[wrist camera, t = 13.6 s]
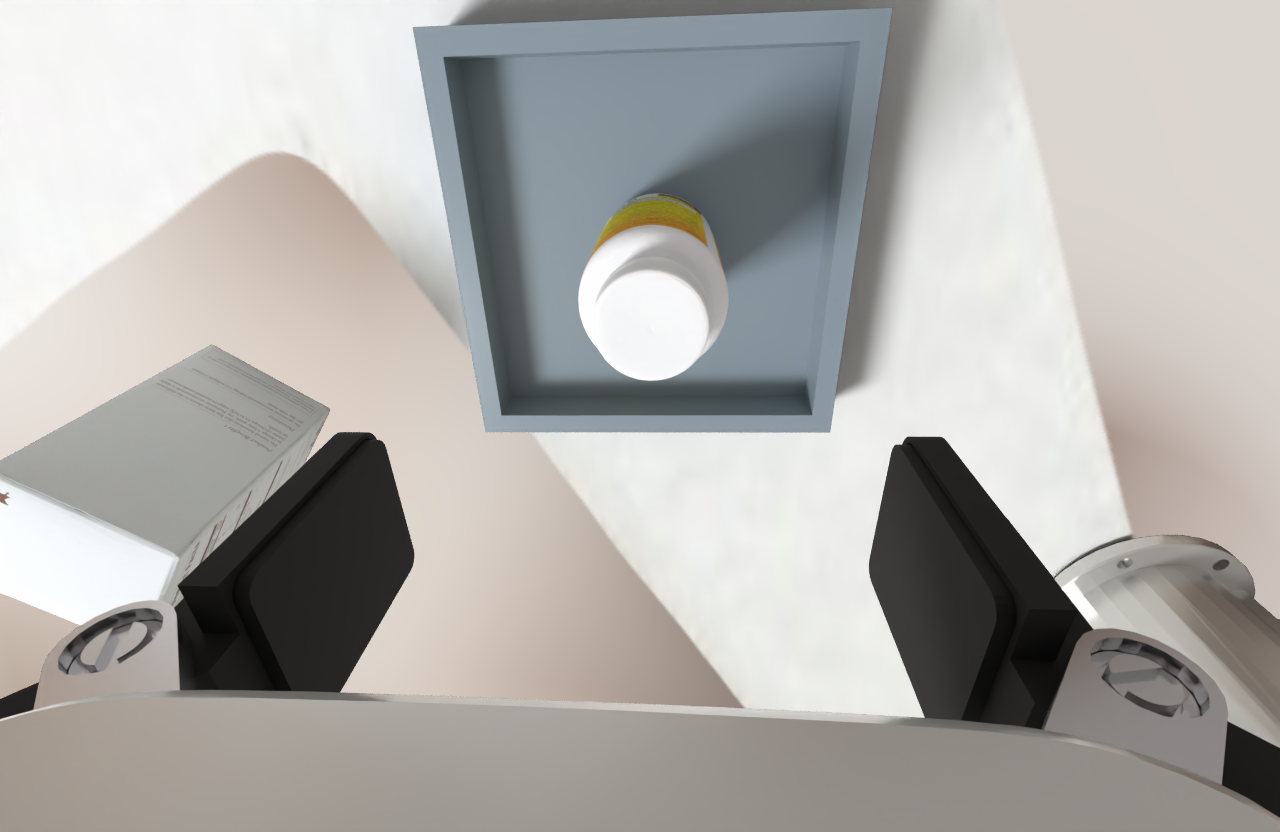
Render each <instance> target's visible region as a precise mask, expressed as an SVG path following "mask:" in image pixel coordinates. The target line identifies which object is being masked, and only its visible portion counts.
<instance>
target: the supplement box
mask: <svg viewBox="0 0 1280 832" xmlns="http://www.w3.org/2000/svg"><path fill="white" fill-rule="evenodd" d="M329 412H330V409H329V408H328V407H326V406H324V405H322V404H321V403H319V402H317V401H315V400H313V399H311V398H309V397H307V396H305V395H304V394H302V393H300V392H298V391H296V390H294V389H293V388H291V387H289V386H287V385H285V384H284V383H282V382H280V381H278V380H276V379H274V378H273V377H271V376H269V375H267V374H265V373H263V372H261V371H259V370H258V369H256V368H254V367H252V366H250V365H249V364H247V363H245V362H243V361H242V360H240V359H238V358H236V357H234V356H232V355H230V354H229V353H227V352H225V351H223V350H221V349H220V348H218V347H216V346H214V345H210V346H208V347H206V348H205V349H203V350H201V351H199V352H197V353H195V354H193V355H192V356H190V357H188V358H186V359H184V360H183V361H181V362H179V363H177V364H175V365H174V366H172V367H170V368H168V369H166V370H164V371H162V372H161V373H159V374H157V375H155V376H153V377H152V378H150V379H148V380H146V381H144V382H142V383H141V384H139V385H137V386H135V387H133V388H132V389H130V390H128V391H126V392H125V393H123V394H121V395H119V396H117V397H115V398H113V399H111V400H110V401H108V402H106V403H104V404H102V405H101V406H99V407H97V408H95V409H93V410H92V411H90V412H88V413H86V414H84V415H83V416H81V417H79V418H77V419H75V420H73V421H72V422H70V423H68V424H66V425H64V426H62V427H61V428H59V429H57V430H55V431H53V432H52V433H50V434H48V435H46V436H44V437H42V438H41V439H39V440H37V441H35V442H33V443H31V444H30V445H28V446H26V447H24V448H23V449H21V450H19V451H17V452H15V453H13V454H11V455H9V456H8V457H6V458H4V459H2V460H0V593H2V594H5V595H7V596H10V597H12V598H15V599H17V600H20V601H22V602H24V603H27V604H29V605H32V606H34V607H37V608H39V609H42V610H44V611H47V612H49V613H52V614H54V615H57V616H59V617H62V618H64V619H66V620H69V621H71V622H74V623H76V624H79V625H82V624H84V623H86V622H87V621H89V620H91V619H92V618H94V617H96V616H98V615H100V614H103V613H105V612H107V611H109V610H112V609H114V608H117V607H120V606H123V605H127V604H130V603H133V602H140V601H147V600H156V601H165V602H166V603H168V604H170V605H172V606H173V607H175V606H176V605H177V604H178V603H179V602H180V601H181V600H182V599H183V598H184V597H183V595H182V594H181V592H180V590H179V588H178V586H177V585H178V584H179V583H180V582H182V581H183V580H184V579H185V578H186V577H187V576H188V575H189V574H190V573H191V572H192V571H193V570H194V569H195V568H196V567H197V566H198V565H199V564H200V563H201V562H202V561H203V560H205V559H206V558H207V557H208V556H209V555H210V554H211V553H212V552H213V551H214V550H215V549H216V548H217V547H218V546H219V545H220V544H221V543H222V542H223V541H224V540H225V539H226V538H228V537H229V536H230V535H231V534H232V533H233V532H234V531H235V530H236V529H237V528H238V527H239V526H240V525H241V524H242V523H243V522H244V521H245V520H246V519H247V518H248V517H250V516H251V515H252V514H253V513H254V512H255V511H256V510H257V509H258V508H259V507H260V506H261V505H262V504H263V503H264V502H265V501H266V500H267V499H268V498H269V497H270V496H271V495H273V494H274V493H275V492H276V491H277V490H278V489H279V488H280V487H281V486H282V485H283V484H284V483H285V482H286V481H287V480H288V479H289V478H290V477H291V476H292V475H293V474H294V473H296V472H297V471H298V470H299V469H300V468H301V467H302V466H303V465H304V463H305V461H306V459H307V457H308V455H309V453H310V451H311V449H312V447H313V445H314V443H315V441H316V439H317V437H318V435H319V433H320V431H321V428H322V426H323V424H324V422H325V420H326V418H327V416H328V414H329Z"/></svg>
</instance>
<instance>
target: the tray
mask: <svg viewBox="0 0 1280 832" xmlns="http://www.w3.org/2000/svg"><path fill="white" fill-rule="evenodd" d="M892 9H893V8H871V9H847V10H822V11H797V12H773V13H748V14H724V15H699V16H674V17H650V18H625V19H601V20H576V21H551V22H527V23H502V24H478V25H453V26H428V27H413V32H414V37H415V43H416V48H417V54H418V59H419V65H420V70H421V76H422V82H423V87H424V93H425V98H426V104H427V109H428V115H429V120H430V126H431V131H432V137H433V143H434V148H435V154H436V159H437V165H438V170H439V176H440V181H441V187H442V193H443V198H444V204H445V209H446V215H447V220H448V226H449V231H450V237H451V243H452V248H453V254H454V259H455V265H456V270H457V276H458V281H459V287H460V293H461V298H462V304H463V309H464V315H465V320H466V326H467V331H468V337H469V342H470V348H471V354H472V359H473V365H474V370H475V376H476V381H477V387H478V392H479V398H480V404H481V409H482V414H483V420H484V426H485V431H486V432H830V429H831V422H832V416H833V409H834V402H835V395H836V388H837V382H838V375H839V368H840V361H841V355H842V348H843V341H844V334H845V327H846V321H847V314H848V307H849V300H850V294H851V287H852V280H853V273H854V266H855V260H856V253H857V246H858V239H859V233H860V226H861V219H862V212H863V205H864V199H865V192H866V185H867V178H868V172H869V165H870V158H871V151H872V144H873V138H874V131H875V124H876V117H877V111H878V104H879V97H880V90H881V83H882V77H883V70H884V63H885V56H886V50H887V43H888V36H889V29H890V22H891V16H892ZM654 193H661V194H669V195H672V196H676V197H678V198H681V199H683V200H685V201H687V202H688V203H690V204H691V205H693V206H694V207H695V208H696V209H697V210H698V211H699V212H700V213H701V214H702V215H703V216H704V218H705V219H706V221H707V223H708V224H709V226H710V228H711V231H712V233H713V236H714V239H715V243H716V246H717V249H718V252H719V256H720V259H721V263H722V267H723V270H724V274H725V277H726V281H727V287H728V311H727V316H726V320H725V323H724V326H723V328H722V330H721V332H720V334H719V336H718V338H717V339H716V341H715V342H714V343H713V345H712V346H711V347H710V349H709V350H708V351H706V352H705V353H704V354H703V355H702V356H701V357H699V358H698V359H697V360H696V362H695V363H694V364H693V365H692V366H690V367H689V368H688V369H686V370H685V371H683V372H682V373H680V374H678V375H676V376H673V377H671V378H667V379H663V380H653V381H647V380H640V379H635V378H632V377H629V376H627V375H625V374H623V373H621V372H619V371H618V370H616V369H615V368H613V367H612V366H611V365H610V364H609V363H608V362H607V361H606V360H605V359H604V357H603V356H602V354H601V353H600V351H599V349H598V348H597V347H596V346H595V345H594V344H593V342H592V341H591V339H590V338H589V336H588V334H587V333H586V330H585V328H584V326H583V323H582V320H581V317H580V312H579V304H578V294H579V286H580V282H581V278H582V275H583V272H584V270H585V267H586V265H587V263H588V261H589V259H590V257H591V254H592V252H593V250H594V248H595V246H596V244H597V241H598V239H599V237H600V235H601V233H602V231H603V229H604V227H605V225H606V223H607V221H608V220H609V219H610V217H611V216H612V215H613V213H614V212H615V211H616V210H617V209H618V208H619V207H621V206H622V205H623V204H625V203H626V202H628V201H630V200H632V199H634V198H636V197H639V196H642V195H646V194H654Z"/></svg>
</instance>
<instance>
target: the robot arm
mask: <svg viewBox="0 0 1280 832" xmlns="http://www.w3.org/2000/svg"><path fill="white" fill-rule="evenodd" d="M413 562H414V549H413V545H412V542H411V538H410V534H409V531H408V527H407V524H406V520H405V516H404V512H403V509H402V505H401V501H400V497H399V494H398V490H397V487H396V483H395V479H394V475H393V472H392V468H391V464H390V461H389V457H388V453H387V450H386V447H385V444H384V443H383V442H382V441H380V440H377V439H376V437H375V436H374V435H373V434H371V433H363V432H362V433H360V432H353V433H352V432H341V433H337V434H336V435H334V436H333V437H332V438H331V439H330V440H329V441H328V442H327V443H326V444H325V445H324V446H323V447H322V448H321V449H320V450H319V451H318V452H317V453H315V454H314V455H313V456H312V457H311V458H310V459H309V460H308V461H307V462H306V463H305V464H304V465H303V466H302V467H301V468H300V469H299V470H298V471H297V472H296V473H294V474H293V475H292V476H291V477H290V478H289V479H288V480H287V481H286V482H285V483H284V484H283V485H282V486H281V487H280V488H279V489H278V490H277V491H276V492H275V493H274V494H273V495H271V496H270V497H269V498H268V499H267V500H266V501H265V502H264V503H263V504H262V505H261V506H260V507H259V508H258V509H257V510H256V511H255V512H254V513H253V514H252V515H251V516H250V517H248V518H247V519H246V520H245V521H244V522H243V523H242V524H241V525H240V526H239V527H238V528H237V529H236V530H235V531H234V532H233V533H232V534H231V535H230V536H229V537H228V538H226V539H225V540H224V541H223V542H222V543H221V544H220V545H219V546H218V547H217V548H216V549H215V550H214V551H213V552H212V553H211V554H210V555H209V556H208V557H207V558H206V559H205V560H203V561H202V562H201V563H200V564H199V565H198V566H197V567H196V568H195V569H194V570H193V571H192V572H191V573H190V574H189V575H188V576H187V577H186V578H185V579H184V580H183V581H182V582H180V583H179V584H178V585H177V586H178V588H179V590H180V592H181V594H182V595H183V597H184V598H183V599H182V600H181V601H180V602H179V603H178V604H177V605H176V606H175V607H173V606H172V605H170V604H168V603H166V602H165V601H156V600H147V601H140V602H133V603H130V604H127V605H123V606H120V607H117V608H114V609H112V610H109V611H107V612H105V613H103V614H100V615H98V616H96V617H94V618H92V619H91V620H89V621H87V622H86V623H84V624H82V625H81V626H79V627H77V628H76V629H74V630H73V631H72V632H71V633H70V634H68V635H67V636H66V637H64V638H63V639H62V640H61V641H60V642H59V643H58V644H57V645H56V646H55V647H54V648H53V650H52V651H51V652H50V653H49V654H48V656H47V658H46V660H45V662H44V664H43V667H42V671H41V676H40V680H39V682H38V683H36V684H34V685H31V686H29V687H27V688H24V689H22V690H20V691H18V692H15V693H13V694H11V695H9V696H6V697H4V698H2V699H0V832H1280V619H1276V618H1275V617H1274V616H1273V615H1272V614H1271V613H1270V612H1268V611H1267V610H1266V609H1265V608H1264V607H1263V606H1261V605H1260V604H1259V603H1258V602H1257V601H1256V600H1255V599H1254V595H1255V587H1254V582H1253V578H1252V576H1251V574H1250V572H1249V571H1248V569H1247V567H1246V566H1245V565H1243V564H1242V563H1241V562H1240V561H1239V560H1238V559H1237V558H1236V557H1234V556H1233V555H1232V554H1231V553H1230V552H1228V551H1227V550H1225V549H1224V548H1222V547H1221V546H1219V545H1218V544H1215V543H1213V542H1210V541H1207V540H1204V539H1202V538H1196V537H1190V536H1184V535H1157V536H1149V537H1140V538H1135V539H1131V540H1127V541H1123V542H1119V543H1116V544H1113V545H1111V546H1108V547H1105V548H1103V549H1100V550H1097V551H1095V552H1093V553H1091V554H1089V555H1088V556H1086V557H1084V558H1082V559H1080V560H1078V561H1077V562H1075V563H1074V564H1072V565H1071V566H1069V567H1068V568H1066V569H1065V570H1064V571H1062V572H1061V573H1060V574H1059V575H1058V576H1057V577H1056V578H1055V579H1054V578H1053V577H1052V575H1051V574H1050V573H1049V572H1048V570H1047V569H1046V568H1045V566H1044V565H1043V564H1042V563H1041V561H1040V560H1039V559H1038V557H1037V556H1036V555H1035V554H1034V552H1033V551H1032V550H1031V548H1030V547H1029V546H1028V545H1027V543H1026V542H1025V541H1024V539H1023V538H1022V537H1021V536H1020V534H1019V533H1018V532H1017V530H1016V529H1015V528H1014V527H1013V525H1012V524H1011V523H1010V521H1009V520H1008V519H1007V518H1006V517H1005V516H1004V514H1003V513H1002V512H1001V511H1000V509H999V508H998V507H997V505H996V504H995V503H994V502H993V500H992V499H991V498H990V496H989V495H988V494H987V493H986V491H985V490H984V489H983V487H982V486H981V485H980V484H979V482H978V481H977V480H976V478H975V477H974V476H973V475H972V473H971V472H970V471H969V469H968V468H967V467H966V466H965V464H964V463H963V462H962V460H961V459H960V458H959V457H958V455H957V454H956V453H955V451H954V450H953V449H952V448H951V446H950V445H949V444H948V442H947V441H946V440H945V439H944V438H943V437H907V438H906V439H905V440H904V442H903V444H902V445H895V446H894V447H893V449H892V453H891V457H890V462H889V467H888V472H887V477H886V482H885V487H884V491H883V496H882V501H881V506H880V511H879V516H878V521H877V526H876V530H875V535H874V540H873V545H872V550H871V555H870V560H869V573H870V579H871V582H872V584H873V587H874V590H875V592H876V595H877V597H878V600H879V602H880V605H881V607H882V610H883V612H884V615H885V617H886V620H887V623H888V625H889V628H890V630H891V633H892V635H893V638H894V640H895V643H896V645H897V648H898V650H899V653H900V656H901V658H902V661H903V663H904V666H905V668H906V671H907V673H908V676H909V678H910V681H911V683H912V686H913V689H914V691H915V694H916V696H917V699H918V701H919V704H920V706H921V709H922V711H923V714H924V716H925V718H916V717H900V716H883V715H867V714H851V713H832V712H810V711H789V710H767V709H745V708H722V707H701V706H678V705H656V704H631V703H607V702H583V701H558V700H557V701H555V700H531V699H507V698H480V697H453V696H451V697H450V696H424V695H395V694H394V695H393V694H365V693H340V691H341V690H342V688H343V686H344V685H345V683H346V681H347V679H348V677H349V676H350V674H351V672H352V671H353V669H354V667H355V666H356V664H357V662H358V660H359V659H360V657H361V655H362V654H363V652H364V650H365V648H366V647H367V645H368V643H369V641H370V640H371V638H372V636H373V635H374V633H375V631H376V629H377V628H378V626H379V624H380V623H381V621H382V619H383V617H384V616H385V614H386V612H387V610H388V609H389V607H390V605H391V604H392V602H393V600H394V598H395V596H396V595H397V593H398V591H399V590H400V588H401V586H402V585H403V583H404V581H405V579H406V578H407V576H408V574H409V573H410V571H411V568H412V566H413Z"/></svg>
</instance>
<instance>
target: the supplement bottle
mask: <svg viewBox="0 0 1280 832" xmlns="http://www.w3.org/2000/svg"><path fill="white" fill-rule="evenodd" d="M578 304H579V312H580V317H581V320H582V323H583V326H584V328H585V330H586V333H587V334H588V336H589V338H590V339H591V341H592V342H593V344H594V345H595V346H596V347H597V348H598V349H599V351H600V353H601V354H602V356H603V357H604V359H605V360H606V361H607V362H608V363H609V364H610V365H611V366H612V367H613V368H615V369H616V370H618V371H619V372H621V373H623V374H625V375H627V376H629V377H632V378H635V379H640V380H647V381H653V380H663V379H667V378H671V377H673V376H676V375H678V374H680V373H682V372H683V371H685V370H686V369H688V368H689V367H690V366H692V365H693V364H694V363H695V362H696V360H697V359H698V358H699V357H701V356H702V355H703V354H704V353H705V352H706V351H708V350H709V349H710V347H711V346H712V345H713V343H714V342H715V341H716V339H717V338H718V336H719V334H720V332H721V330H722V328H723V326H724V323H725V320H726V316H727V311H728V287H727V281H726V277H725V274H724V270H723V267H722V263H721V259H720V256H719V252H718V249H717V246H716V243H715V239H714V236H713V233H712V231H711V228H710V226H709V224H708V223H707V221H706V219H705V218H704V216H703V215H702V214H701V213H700V212H699V211H698V210H697V209H696V208H695V207H694V206H693V205H691V204H690V203H688V202H687V201H685V200H683V199H681V198H678V197H676V196H672V195H669V194H661V193H654V194H646V195H642V196H639V197H636V198H634V199H632V200H630V201H628V202H626V203H625V204H623V205H622V206H621V207H619V208H618V209H617V210H616V211H615V212H614V213H613V215H612V216H611V217H610V219H609V220H608V221H607V223H606V225H605V227H604V229H603V231H602V233H601V235H600V237H599V239H598V241H597V244H596V246H595V248H594V250H593V252H592V254H591V257H590V259H589V261H588V263H587V265H586V267H585V270H584V272H583V275H582V278H581V282H580V286H579V294H578Z"/></svg>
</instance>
